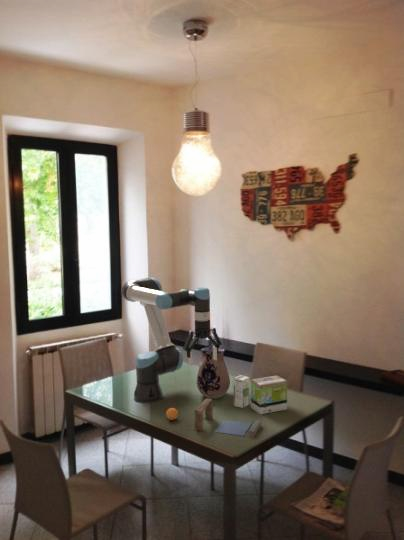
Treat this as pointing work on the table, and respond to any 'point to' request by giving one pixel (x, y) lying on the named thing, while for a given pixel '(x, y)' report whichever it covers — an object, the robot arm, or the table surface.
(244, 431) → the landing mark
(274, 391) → the tea box
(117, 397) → the table surface
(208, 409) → the bridge
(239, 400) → the syrup box
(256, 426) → the stopper
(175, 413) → the ball
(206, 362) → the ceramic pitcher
